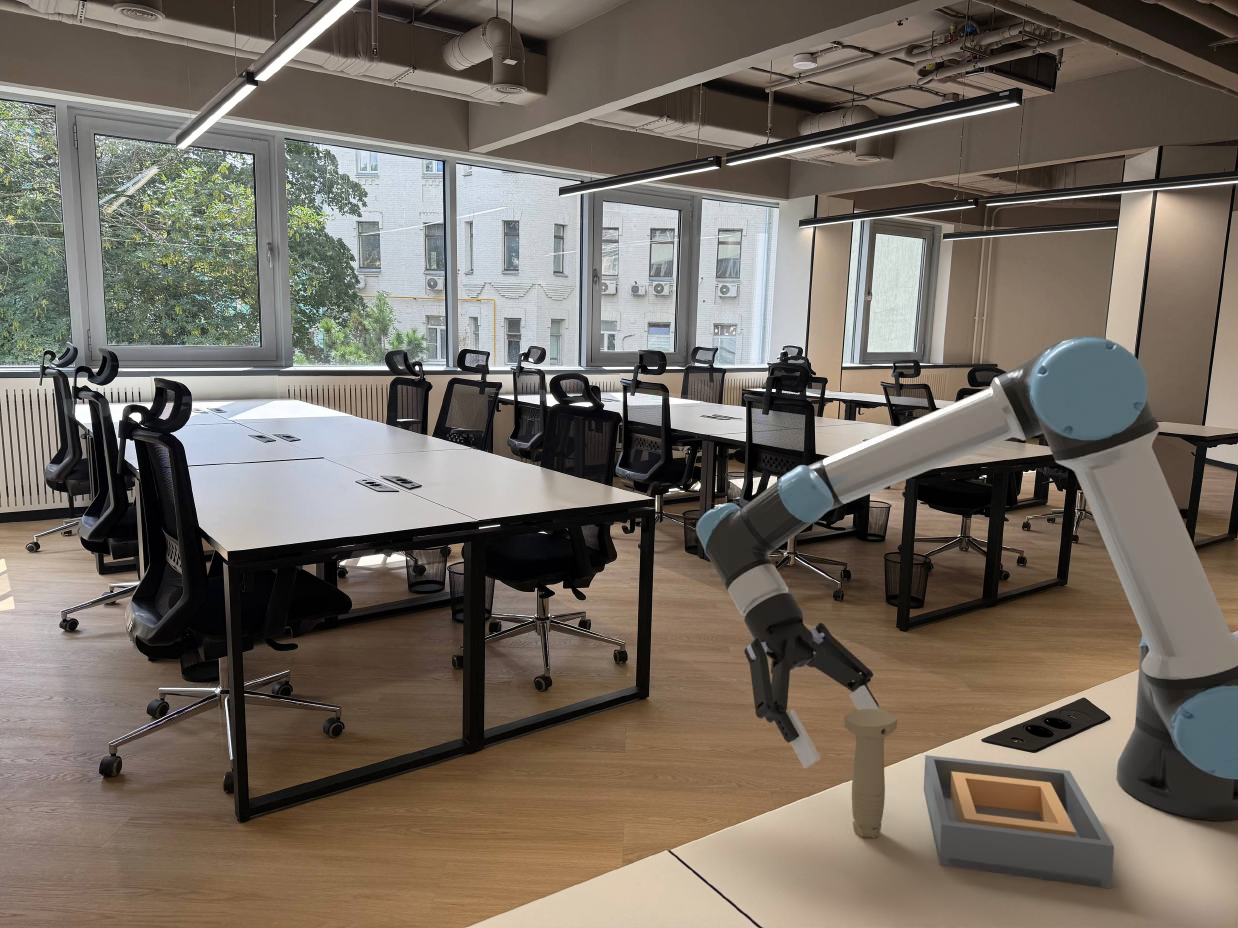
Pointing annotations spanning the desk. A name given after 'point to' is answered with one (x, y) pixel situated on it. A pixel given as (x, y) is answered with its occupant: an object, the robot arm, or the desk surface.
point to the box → (1015, 821)
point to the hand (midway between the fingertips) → (849, 749)
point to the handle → (869, 767)
